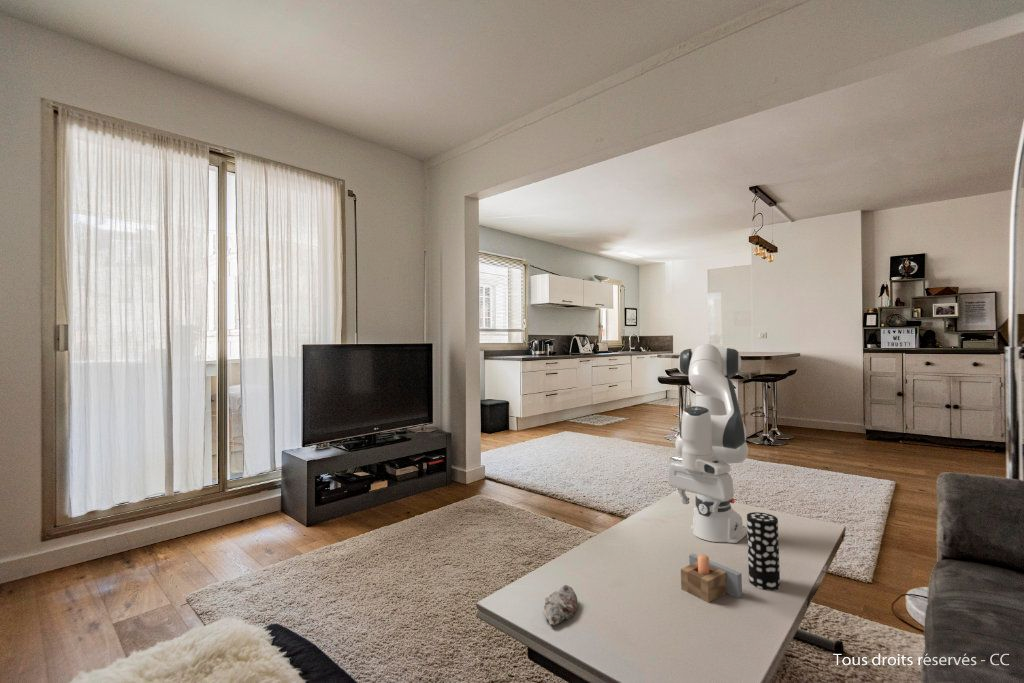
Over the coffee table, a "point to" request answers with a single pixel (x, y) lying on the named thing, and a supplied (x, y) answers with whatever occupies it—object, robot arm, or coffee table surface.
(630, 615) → the coffee table surface
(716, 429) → the robot arm
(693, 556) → the slab
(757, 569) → the white-spotted black cylinder
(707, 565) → the orange rounded capsule
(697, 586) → the block
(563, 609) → the mineral rock
